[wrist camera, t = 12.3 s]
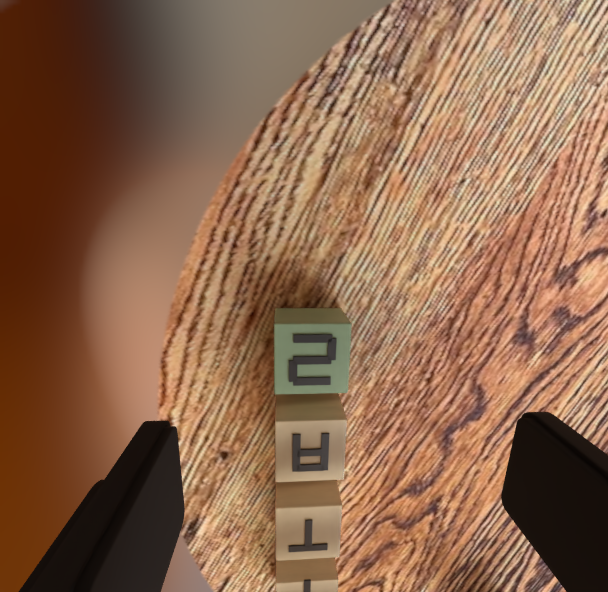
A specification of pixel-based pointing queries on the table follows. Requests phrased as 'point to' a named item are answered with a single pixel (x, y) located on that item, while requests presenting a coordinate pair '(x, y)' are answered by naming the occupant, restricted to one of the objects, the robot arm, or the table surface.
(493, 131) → the table surface
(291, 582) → the beige letter block
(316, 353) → the green number block
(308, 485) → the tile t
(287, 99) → the table surface
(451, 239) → the table surface
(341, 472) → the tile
